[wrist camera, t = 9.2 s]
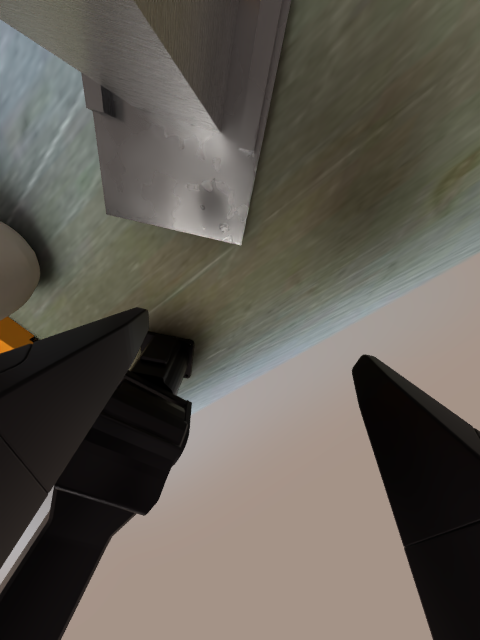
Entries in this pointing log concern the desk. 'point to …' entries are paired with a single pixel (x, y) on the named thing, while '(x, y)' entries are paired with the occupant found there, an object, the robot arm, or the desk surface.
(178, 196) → the grey base plate
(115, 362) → the robot arm
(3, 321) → the bracket
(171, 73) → the block
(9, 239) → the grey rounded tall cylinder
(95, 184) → the desk surface
